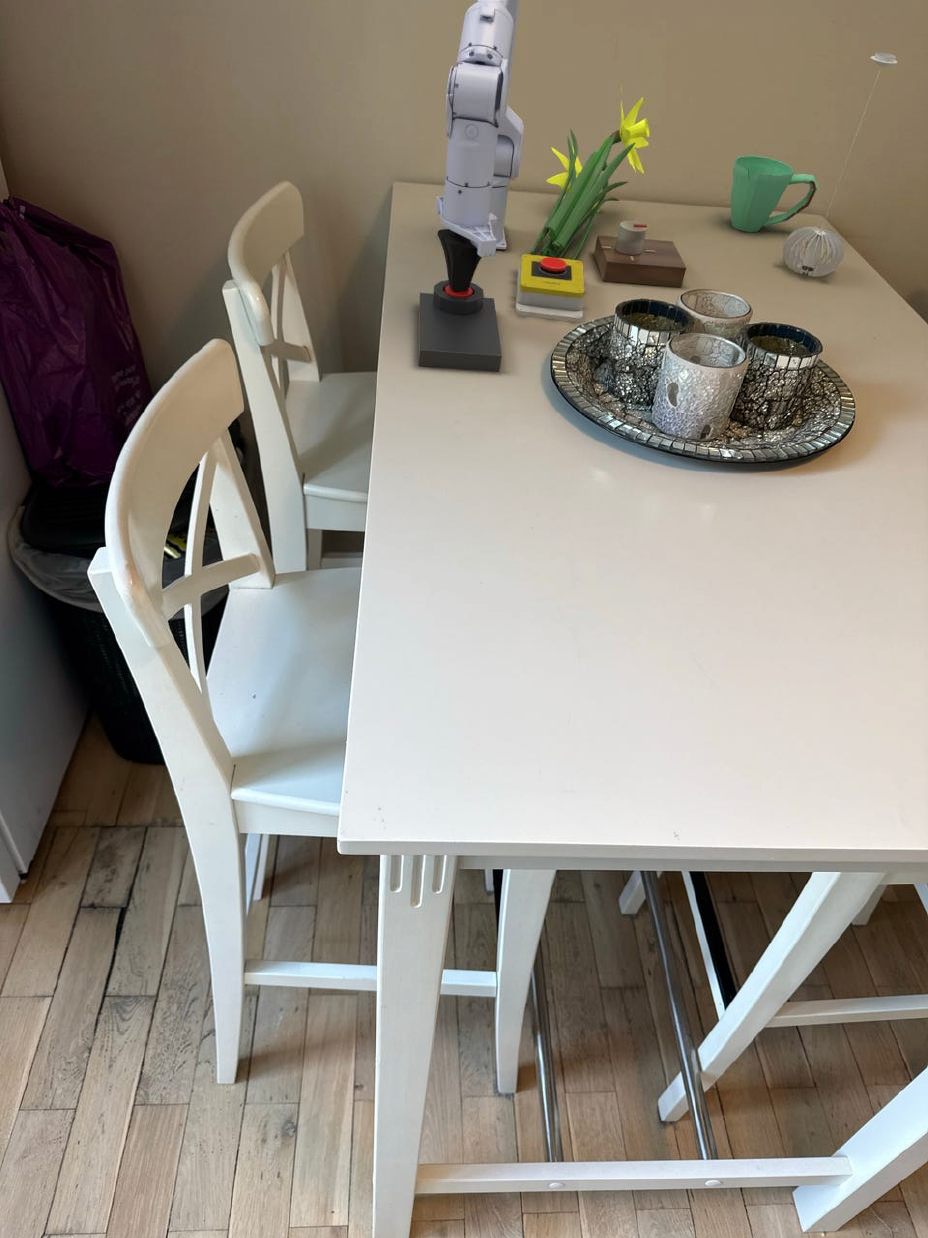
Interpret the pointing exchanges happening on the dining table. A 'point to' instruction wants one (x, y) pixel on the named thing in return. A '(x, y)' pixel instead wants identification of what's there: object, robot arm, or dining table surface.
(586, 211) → the daffodil flowers
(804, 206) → the mug
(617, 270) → the dimmer panel
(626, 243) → the dimmer knob
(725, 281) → the dining table surface
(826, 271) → the pendant light
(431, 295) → the switch box
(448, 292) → the light button
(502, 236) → the robot arm
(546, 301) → the emergency button
